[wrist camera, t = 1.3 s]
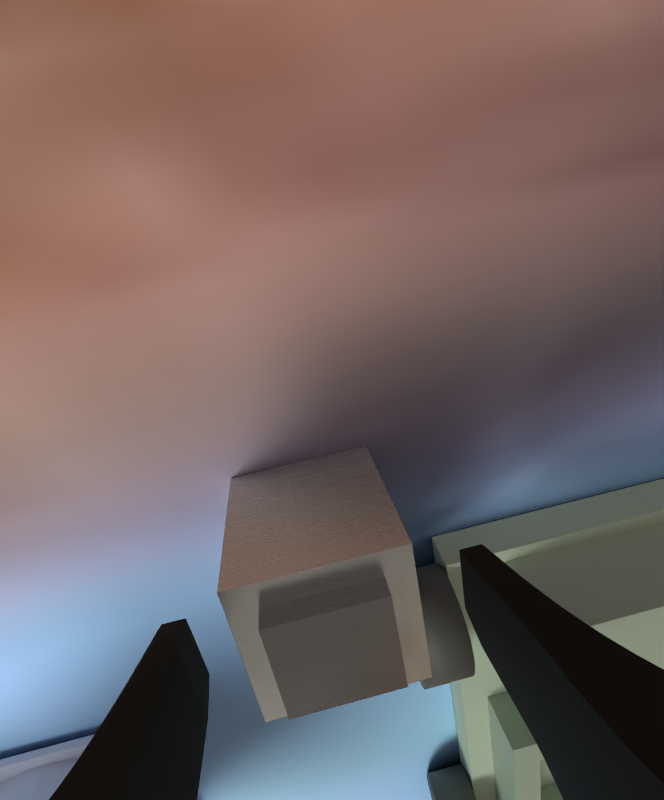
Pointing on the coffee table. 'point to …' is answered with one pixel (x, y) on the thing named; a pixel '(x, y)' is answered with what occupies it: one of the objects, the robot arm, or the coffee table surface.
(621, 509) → the chassis
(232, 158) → the coffee table surface
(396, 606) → the engine block
